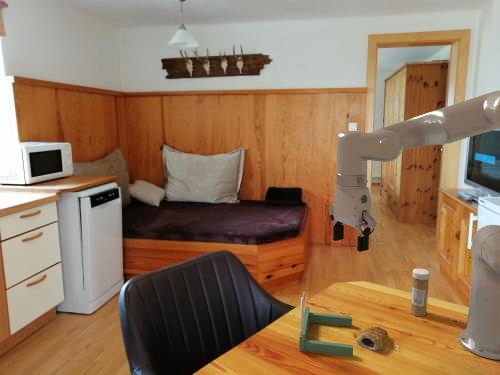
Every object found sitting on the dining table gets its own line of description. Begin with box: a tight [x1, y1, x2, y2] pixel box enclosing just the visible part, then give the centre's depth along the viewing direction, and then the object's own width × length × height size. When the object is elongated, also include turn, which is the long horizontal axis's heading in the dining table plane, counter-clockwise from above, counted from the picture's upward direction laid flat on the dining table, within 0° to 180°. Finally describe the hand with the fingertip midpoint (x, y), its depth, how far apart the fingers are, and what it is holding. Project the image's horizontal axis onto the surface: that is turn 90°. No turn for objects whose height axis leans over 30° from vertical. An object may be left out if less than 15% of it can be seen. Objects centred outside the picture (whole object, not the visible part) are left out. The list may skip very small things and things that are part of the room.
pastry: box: [356, 326, 389, 352], centre depth 102 cm, size 9×7×4 cm
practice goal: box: [298, 291, 354, 358], centre depth 104 cm, size 13×16×14 cm
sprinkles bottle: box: [410, 268, 431, 317], centre depth 115 cm, size 5×5×14 cm
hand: (350, 245), depth 102 cm, fingers open, 9 cm apart
